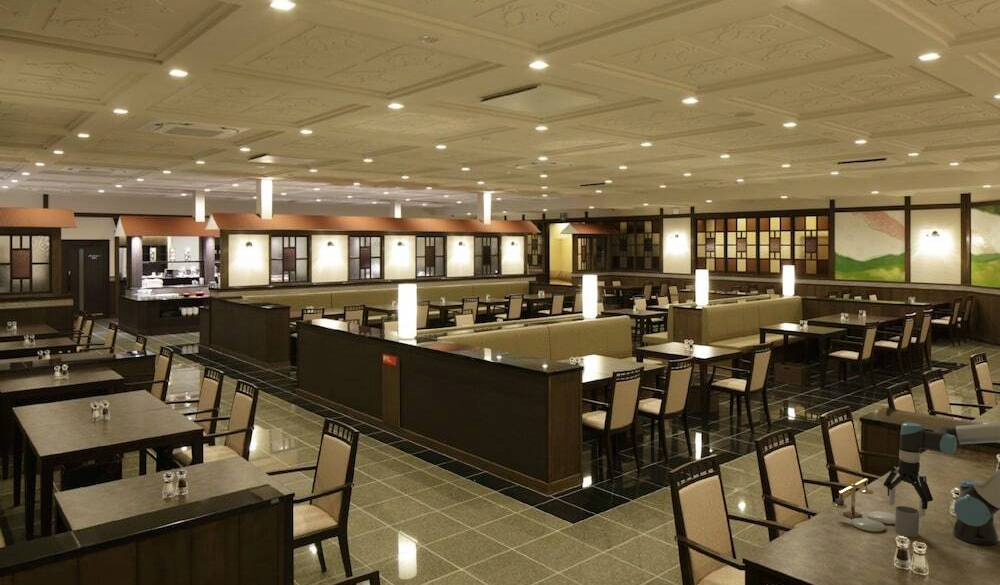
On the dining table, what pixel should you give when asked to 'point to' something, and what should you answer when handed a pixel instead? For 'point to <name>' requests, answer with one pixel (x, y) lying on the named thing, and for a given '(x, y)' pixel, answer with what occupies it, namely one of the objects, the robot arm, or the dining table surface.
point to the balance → (840, 502)
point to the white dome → (882, 517)
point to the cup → (907, 521)
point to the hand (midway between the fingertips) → (906, 510)
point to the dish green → (868, 524)
